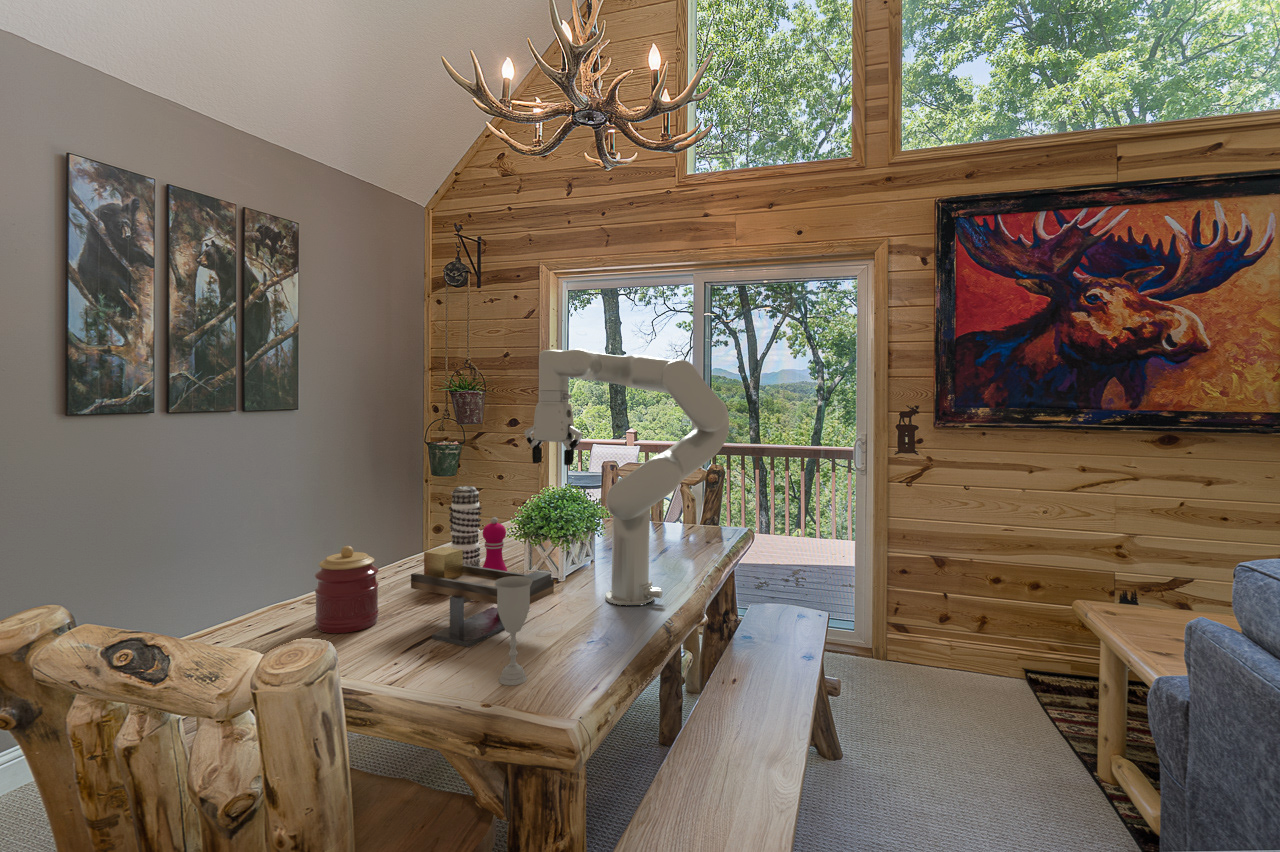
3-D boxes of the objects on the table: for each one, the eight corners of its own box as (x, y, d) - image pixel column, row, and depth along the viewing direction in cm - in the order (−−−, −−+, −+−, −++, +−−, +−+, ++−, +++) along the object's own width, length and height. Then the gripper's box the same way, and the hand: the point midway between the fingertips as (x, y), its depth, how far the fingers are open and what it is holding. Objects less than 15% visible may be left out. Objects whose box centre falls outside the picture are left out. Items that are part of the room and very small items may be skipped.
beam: (554, 597, 141) (555, 571, 141) (519, 615, 129) (519, 586, 129) (449, 579, 154) (450, 555, 154) (409, 594, 142) (409, 568, 142)
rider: (462, 575, 148) (462, 549, 148) (444, 581, 143) (444, 555, 142) (442, 571, 150) (442, 546, 150) (424, 578, 145) (424, 551, 145)
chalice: (496, 671, 120) (497, 576, 119) (533, 670, 120) (534, 575, 119) (491, 688, 112) (491, 587, 111) (530, 687, 113) (530, 587, 112)
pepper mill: (501, 597, 163) (501, 520, 163) (475, 595, 165) (475, 518, 164) (512, 589, 171) (512, 515, 170) (487, 587, 172) (487, 514, 171)
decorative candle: (476, 576, 182) (477, 489, 181) (444, 576, 183) (444, 489, 182) (485, 568, 192) (485, 485, 191) (454, 567, 192) (454, 485, 191)
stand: (526, 617, 149) (526, 578, 148) (469, 647, 131) (469, 603, 130) (492, 611, 153) (492, 573, 153) (431, 638, 135) (432, 595, 135)
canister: (391, 618, 147) (391, 542, 146) (348, 638, 135) (348, 555, 134) (346, 611, 151) (346, 538, 151) (301, 630, 139) (300, 549, 138)
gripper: (589, 398, 165) (588, 464, 165) (533, 397, 172) (533, 461, 173) (574, 398, 158) (573, 467, 159) (517, 397, 165) (516, 463, 166)
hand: (552, 463), depth 166 cm, fingers open, 9 cm apart
